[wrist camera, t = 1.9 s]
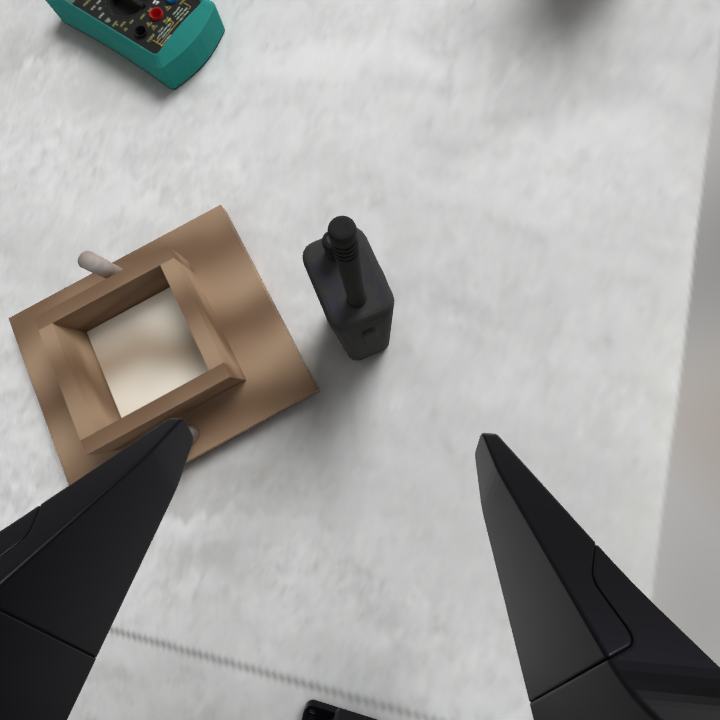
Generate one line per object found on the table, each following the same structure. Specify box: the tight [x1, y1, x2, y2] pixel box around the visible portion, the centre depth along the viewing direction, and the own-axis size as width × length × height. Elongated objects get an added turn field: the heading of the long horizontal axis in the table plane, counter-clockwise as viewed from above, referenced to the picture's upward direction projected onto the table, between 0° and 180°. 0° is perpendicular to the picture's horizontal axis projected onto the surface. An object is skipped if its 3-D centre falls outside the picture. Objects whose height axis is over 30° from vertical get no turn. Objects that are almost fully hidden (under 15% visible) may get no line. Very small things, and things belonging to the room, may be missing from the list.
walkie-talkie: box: [303, 216, 394, 360], centre depth 16 cm, size 5×3×15 cm
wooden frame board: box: [9, 205, 319, 485], centre depth 22 cm, size 16×18×4 cm
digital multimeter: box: [46, 0, 225, 89], centre depth 28 cm, size 7×15×3 cm, turn 54°
